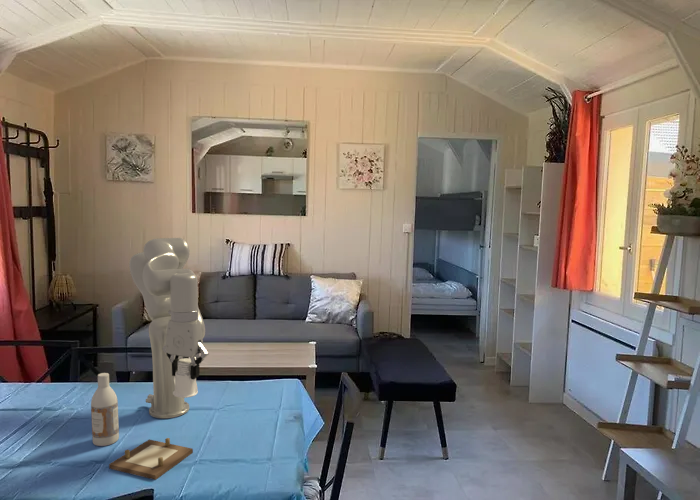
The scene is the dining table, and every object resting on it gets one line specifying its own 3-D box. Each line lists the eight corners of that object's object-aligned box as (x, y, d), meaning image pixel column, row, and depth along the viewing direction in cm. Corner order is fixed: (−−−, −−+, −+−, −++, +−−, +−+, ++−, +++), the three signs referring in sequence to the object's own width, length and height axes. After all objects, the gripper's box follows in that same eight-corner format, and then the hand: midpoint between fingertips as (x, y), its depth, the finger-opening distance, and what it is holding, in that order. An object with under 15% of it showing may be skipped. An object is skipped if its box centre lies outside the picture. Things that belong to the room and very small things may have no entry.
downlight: (166, 395, 155) (166, 362, 153) (182, 386, 161) (183, 355, 160) (188, 401, 152) (189, 367, 150) (204, 392, 158) (204, 360, 157)
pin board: (109, 468, 139) (108, 456, 139) (149, 443, 153) (148, 432, 153) (155, 479, 134) (155, 467, 133) (192, 452, 148) (192, 441, 147)
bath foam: (87, 444, 152) (84, 377, 150) (105, 434, 158) (102, 369, 156) (106, 448, 150) (104, 379, 147) (124, 437, 156) (121, 371, 154)
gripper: (151, 315, 153) (153, 376, 155) (201, 322, 147) (202, 384, 149) (168, 310, 160) (170, 368, 162) (217, 316, 154) (218, 376, 156)
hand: (185, 375), depth 156 cm, fingers closed on downlight, 5 cm apart
